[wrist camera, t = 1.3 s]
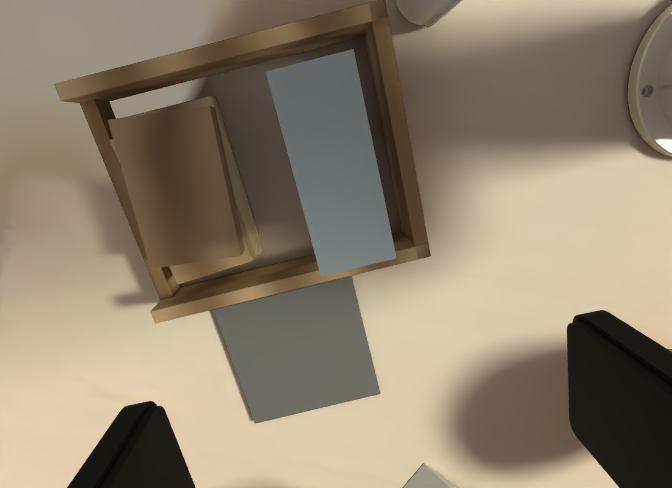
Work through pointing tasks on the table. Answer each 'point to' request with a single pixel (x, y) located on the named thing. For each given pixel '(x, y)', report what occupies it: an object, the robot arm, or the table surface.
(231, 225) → the offcut stack
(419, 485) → the award
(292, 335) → the mat
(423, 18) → the white rounded tombstone
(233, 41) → the wooden frame
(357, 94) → the rectangular block
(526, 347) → the table surface
